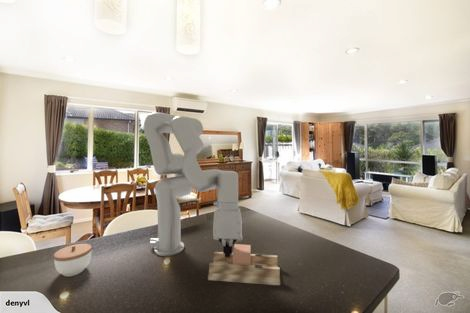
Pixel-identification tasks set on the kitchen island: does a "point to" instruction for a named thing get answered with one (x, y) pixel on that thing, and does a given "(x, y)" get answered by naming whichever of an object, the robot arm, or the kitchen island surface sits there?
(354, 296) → the kitchen island surface
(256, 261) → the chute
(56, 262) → the lidded jar
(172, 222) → the robot arm
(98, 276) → the kitchen island surface
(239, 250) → the block
